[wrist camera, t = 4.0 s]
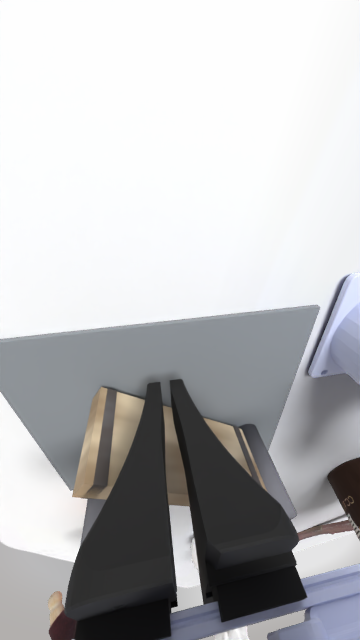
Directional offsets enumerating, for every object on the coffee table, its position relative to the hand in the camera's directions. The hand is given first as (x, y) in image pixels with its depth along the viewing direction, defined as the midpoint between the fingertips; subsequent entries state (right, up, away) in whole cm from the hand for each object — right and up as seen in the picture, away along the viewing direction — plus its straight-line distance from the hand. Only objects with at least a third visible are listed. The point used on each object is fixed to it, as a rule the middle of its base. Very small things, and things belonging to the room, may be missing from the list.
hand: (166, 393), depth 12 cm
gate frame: (0, -3, +5) cm, 6 cm away
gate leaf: (+1, -3, +4) cm, 5 cm away
